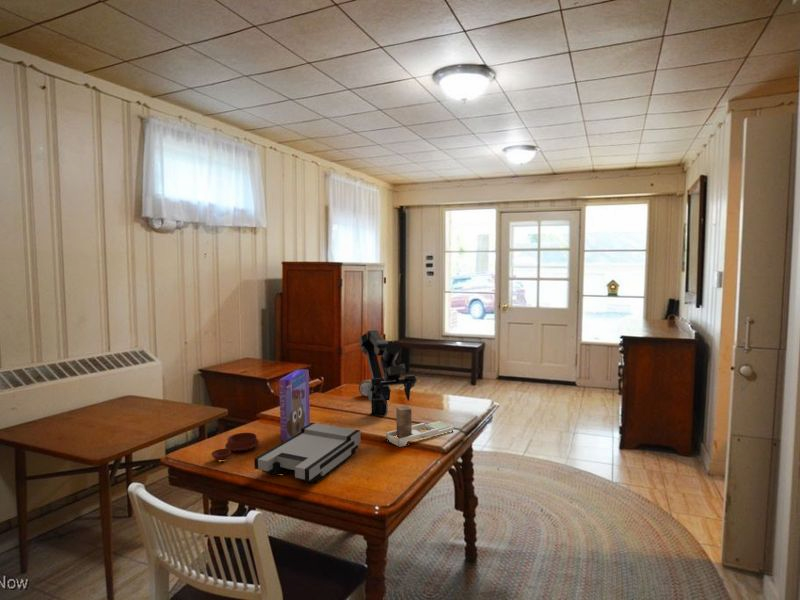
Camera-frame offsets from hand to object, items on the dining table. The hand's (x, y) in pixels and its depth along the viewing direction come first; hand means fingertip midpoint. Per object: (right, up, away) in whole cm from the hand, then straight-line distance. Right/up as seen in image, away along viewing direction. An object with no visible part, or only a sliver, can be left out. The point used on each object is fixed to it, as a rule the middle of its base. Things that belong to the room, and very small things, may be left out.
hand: (397, 401), depth 190 cm
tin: (-12, -9, +53) cm, 55 cm away
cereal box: (-41, -13, +3) cm, 43 cm away
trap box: (+9, -13, -1) cm, 16 cm away
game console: (-29, -16, -26) cm, 42 cm away
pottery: (-59, -15, -16) cm, 63 cm away
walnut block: (+3, -13, -6) cm, 15 cm away
